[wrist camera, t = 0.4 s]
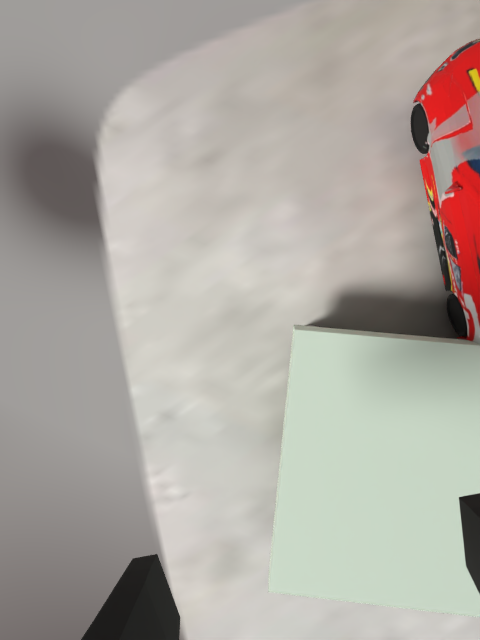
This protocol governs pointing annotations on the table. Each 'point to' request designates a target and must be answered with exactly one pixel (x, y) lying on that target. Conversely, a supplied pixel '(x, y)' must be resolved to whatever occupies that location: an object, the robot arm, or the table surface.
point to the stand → (377, 470)
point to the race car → (454, 178)
